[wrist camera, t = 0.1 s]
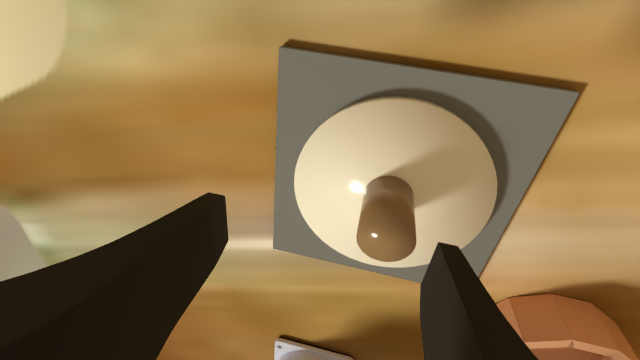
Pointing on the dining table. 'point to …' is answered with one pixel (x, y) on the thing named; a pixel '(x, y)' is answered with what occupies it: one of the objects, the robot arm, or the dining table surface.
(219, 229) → the robot arm
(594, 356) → the brown rounded ring
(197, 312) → the dining table surface
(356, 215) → the lid
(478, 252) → the mat
